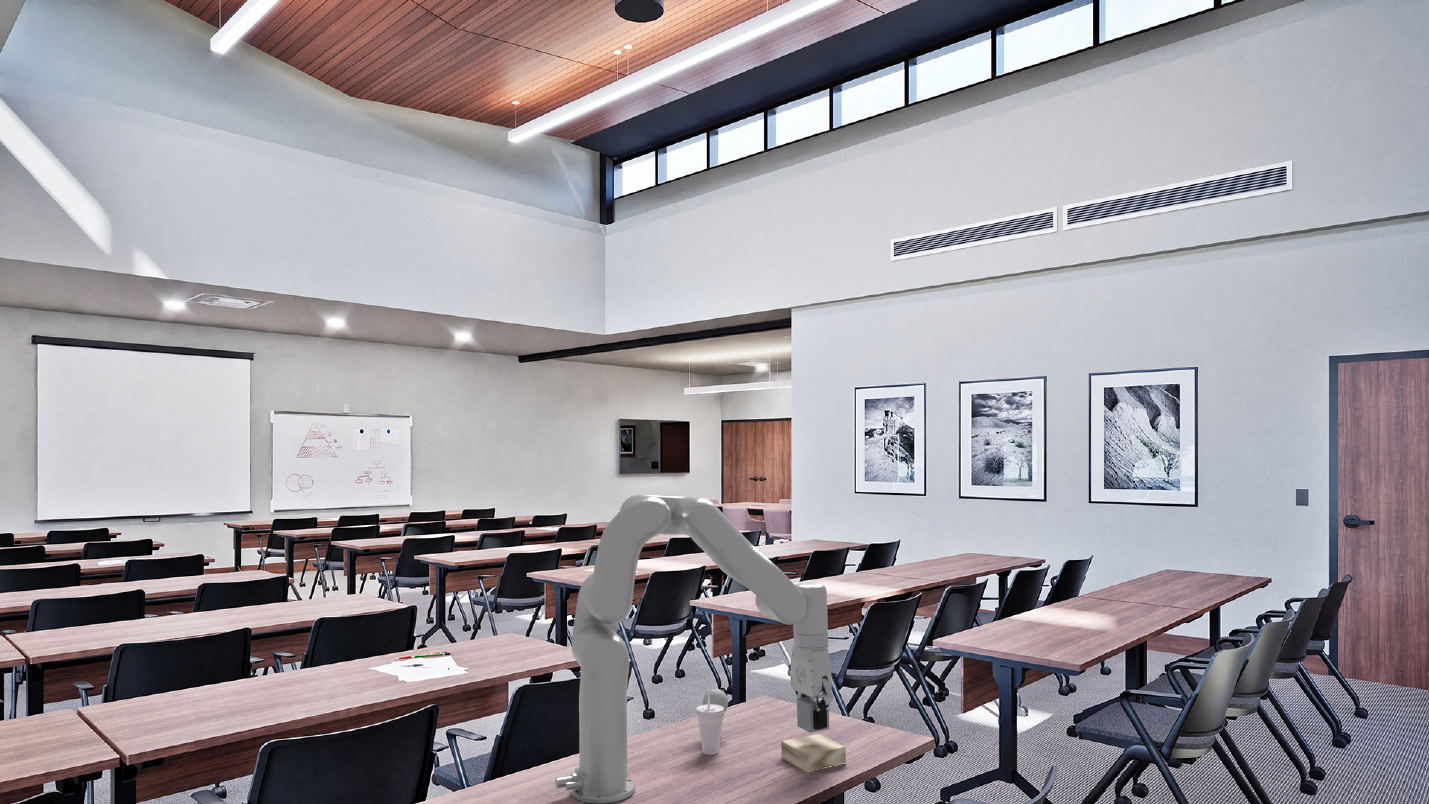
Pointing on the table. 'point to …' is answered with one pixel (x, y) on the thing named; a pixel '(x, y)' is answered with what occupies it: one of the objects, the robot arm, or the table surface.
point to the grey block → (808, 714)
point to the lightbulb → (717, 699)
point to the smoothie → (710, 726)
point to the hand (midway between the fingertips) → (813, 724)
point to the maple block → (813, 752)
